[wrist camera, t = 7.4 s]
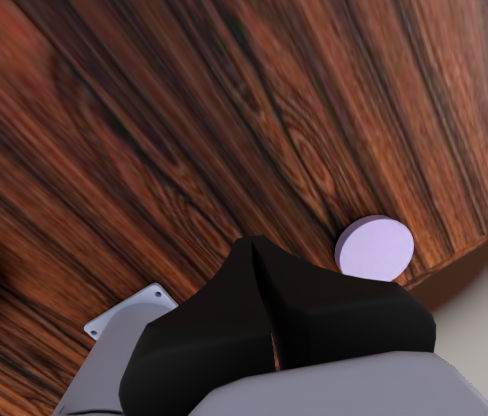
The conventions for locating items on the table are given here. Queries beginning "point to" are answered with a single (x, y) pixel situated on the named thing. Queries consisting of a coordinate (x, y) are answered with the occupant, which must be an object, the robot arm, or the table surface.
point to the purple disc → (374, 248)
